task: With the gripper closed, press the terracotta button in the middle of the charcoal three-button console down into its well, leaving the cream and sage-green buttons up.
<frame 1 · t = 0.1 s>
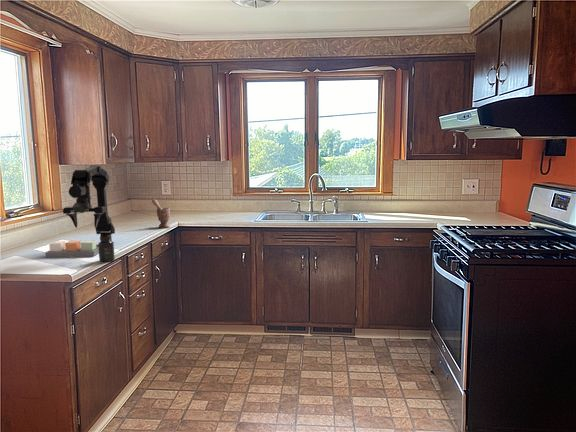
hand: (86, 227, 217), 15 cm above the worktop, tool pointing down, fingers open, 9 cm apart
terracotta button: (73, 245, 222), point 5 cm above the worktop, slide at 0.0 cm
supplement bottle: (107, 261, 210), on the worktop
sage button: (88, 245, 222), point 5 cm above the worktop, slide at 0.0 cm
cream button: (57, 246, 221), point 5 cm above the worktop, slide at 0.0 cm
console: (73, 254, 223), on the worktop
mortar and pestle: (162, 228, 299), on the worktop
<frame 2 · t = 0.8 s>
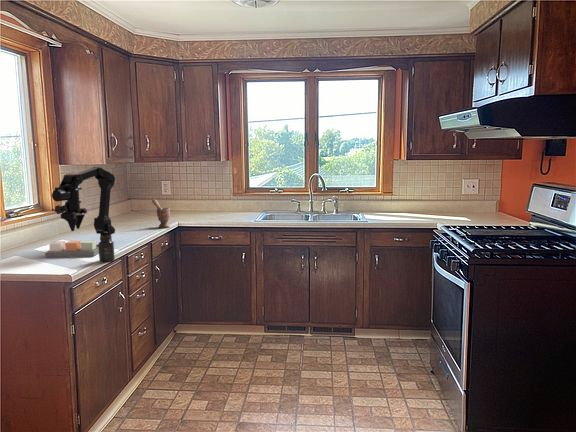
hand: (75, 229, 225), 12 cm above the worktop, tool pointing down, fingers open, 7 cm apart
nothing on the worktop moved.
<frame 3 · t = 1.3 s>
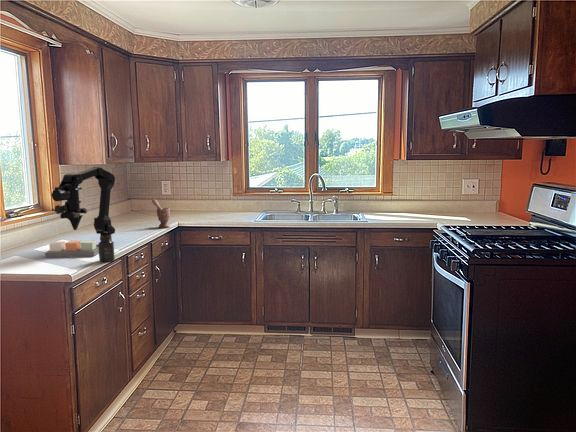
hand: (75, 229, 225), 12 cm above the worktop, tool pointing down, fingers closed
nothing on the worktop moved.
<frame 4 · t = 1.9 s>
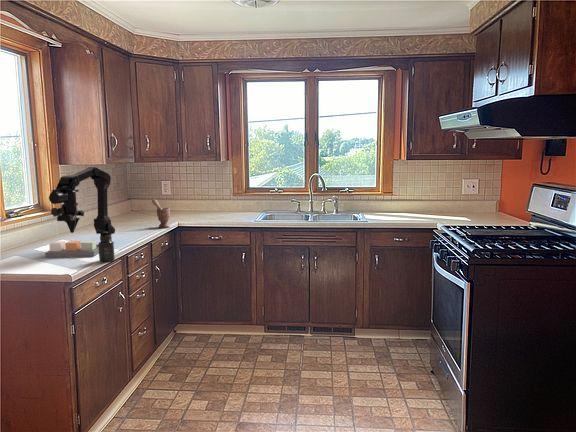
hand: (72, 232, 221), 11 cm above the worktop, tool pointing down, fingers closed
nothing on the worktop moved.
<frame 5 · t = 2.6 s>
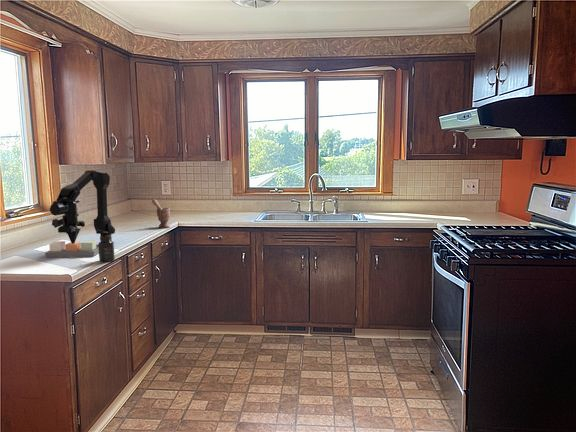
hand: (73, 243, 222), 6 cm above the worktop, tool pointing down, fingers closed, pressing on terracotta button
terracotta button: (73, 247, 222), point 4 cm above the worktop, slide at -0.8 cm, touching gripper
everything else where it was.
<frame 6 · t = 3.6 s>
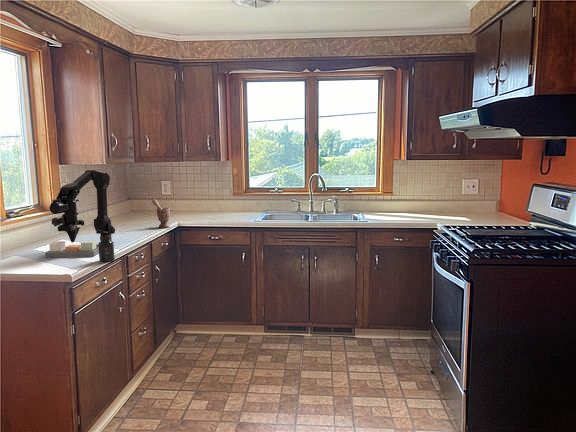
hand: (72, 242, 221), 6 cm above the worktop, tool pointing down, fingers closed
terracotta button: (73, 249, 222), point 3 cm above the worktop, slide at -1.9 cm
everything else where it was.
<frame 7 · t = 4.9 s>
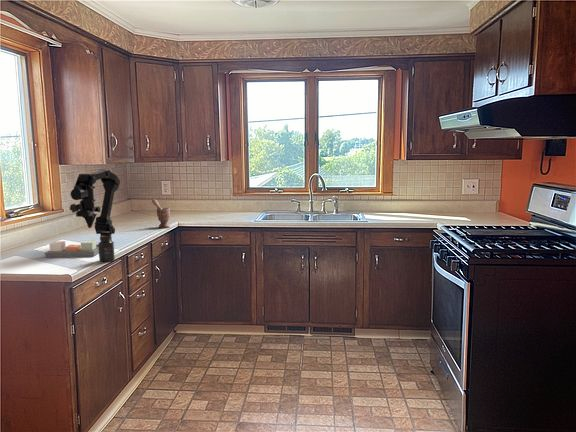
hand: (89, 227, 230), 12 cm above the worktop, tool pointing down, fingers closed
nothing on the worktop moved.
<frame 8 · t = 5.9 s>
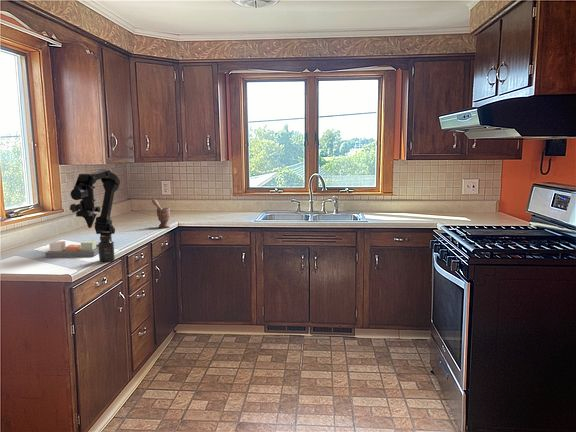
hand: (89, 227, 230), 12 cm above the worktop, tool pointing down, fingers closed
nothing on the worktop moved.
at the end: terracotta button slide at -1.9 cm; cream button slide at 0.0 cm; sage button slide at 0.0 cm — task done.
